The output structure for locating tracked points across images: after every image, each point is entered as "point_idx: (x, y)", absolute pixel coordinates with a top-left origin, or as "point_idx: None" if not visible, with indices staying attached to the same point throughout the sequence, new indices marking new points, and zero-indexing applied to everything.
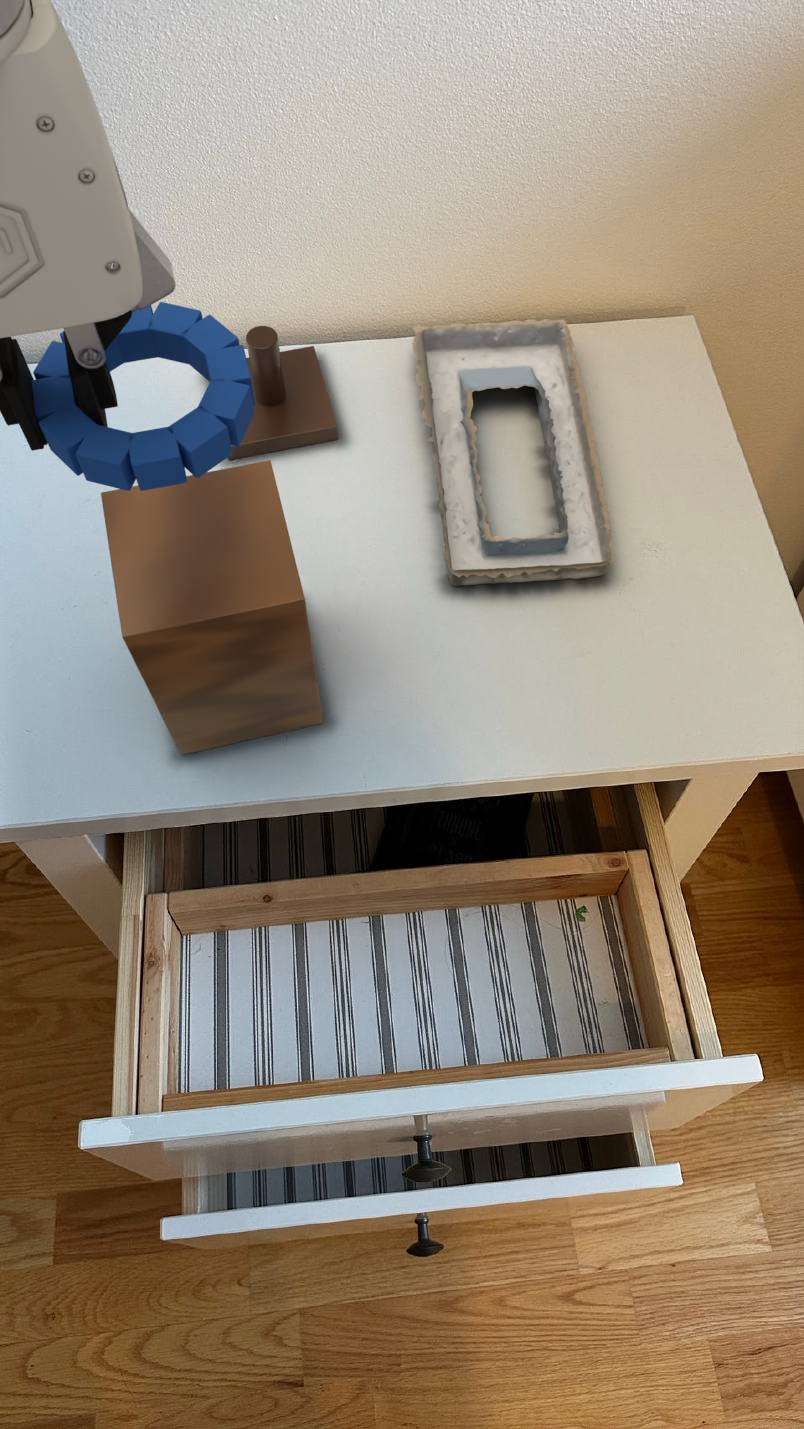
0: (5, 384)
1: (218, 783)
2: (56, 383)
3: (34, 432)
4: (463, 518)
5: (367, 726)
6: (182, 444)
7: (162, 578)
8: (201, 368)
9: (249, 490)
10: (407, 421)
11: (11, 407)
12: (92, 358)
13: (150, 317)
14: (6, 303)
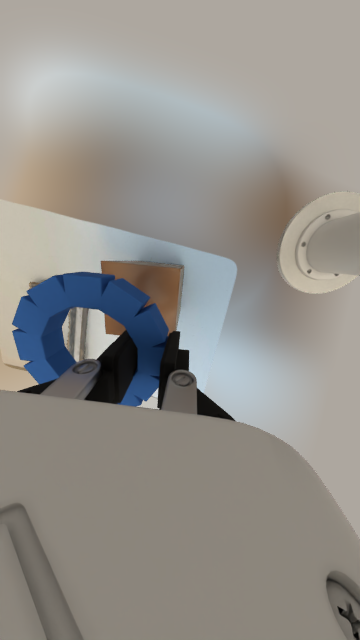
0: (171, 367)
1: (175, 251)
2: (148, 369)
3: (171, 337)
4: (80, 317)
5: (124, 255)
6: (60, 285)
7: (158, 292)
8: (64, 356)
9: (115, 322)
10: (92, 355)
11: (176, 352)
12: (87, 367)
13: None
14: (29, 479)
